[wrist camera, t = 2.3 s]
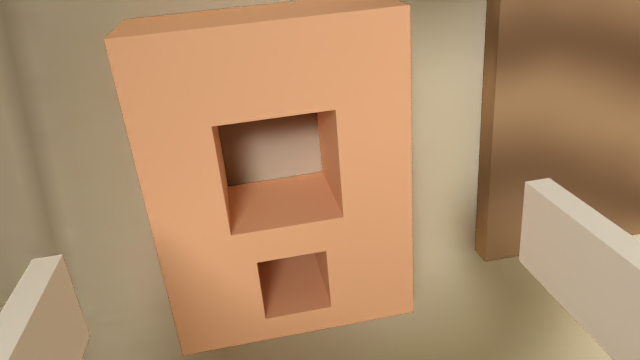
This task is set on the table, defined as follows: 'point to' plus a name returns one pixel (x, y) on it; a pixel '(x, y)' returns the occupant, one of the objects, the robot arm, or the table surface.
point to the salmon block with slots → (278, 194)
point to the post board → (558, 112)
